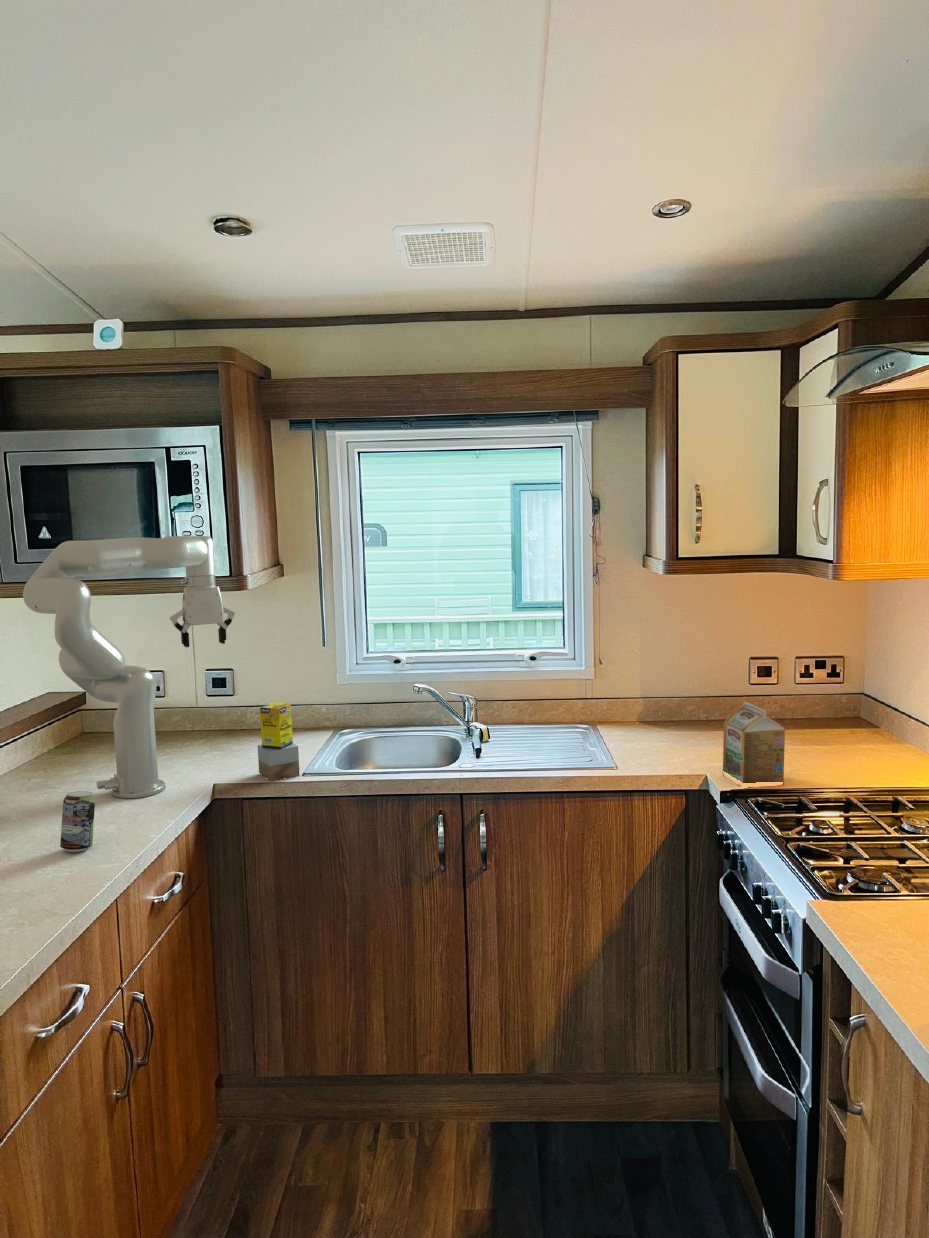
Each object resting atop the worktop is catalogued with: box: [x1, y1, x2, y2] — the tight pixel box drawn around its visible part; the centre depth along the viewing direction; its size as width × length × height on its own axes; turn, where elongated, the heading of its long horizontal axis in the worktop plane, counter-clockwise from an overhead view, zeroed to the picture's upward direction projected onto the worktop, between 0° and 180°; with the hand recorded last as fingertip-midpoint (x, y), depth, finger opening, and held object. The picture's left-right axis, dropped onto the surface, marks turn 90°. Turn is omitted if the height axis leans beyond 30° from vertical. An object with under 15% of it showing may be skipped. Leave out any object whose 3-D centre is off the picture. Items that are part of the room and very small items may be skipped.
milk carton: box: [722, 701, 786, 783], centre depth 210 cm, size 10×11×19 cm
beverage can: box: [59, 790, 96, 853], centre depth 174 cm, size 6×7×12 cm
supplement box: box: [259, 701, 294, 749], centre depth 221 cm, size 6×6×11 cm
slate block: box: [257, 743, 300, 767], centre depth 222 cm, size 8×8×4 cm
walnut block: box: [258, 760, 300, 783], centre depth 223 cm, size 8×8×4 cm
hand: (204, 644), depth 230 cm, fingers open, 9 cm apart
